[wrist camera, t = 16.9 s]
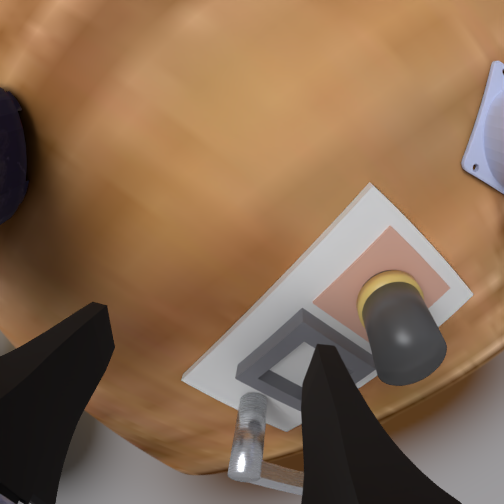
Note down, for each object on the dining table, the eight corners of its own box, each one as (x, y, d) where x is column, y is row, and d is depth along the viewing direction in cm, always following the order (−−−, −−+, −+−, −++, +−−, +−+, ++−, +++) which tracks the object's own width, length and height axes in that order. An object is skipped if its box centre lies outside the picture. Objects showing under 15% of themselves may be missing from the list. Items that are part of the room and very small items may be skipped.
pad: (390, 224, 18) (391, 226, 17) (449, 286, 19) (450, 288, 19) (312, 301, 21) (312, 303, 20) (378, 347, 22) (379, 349, 22)
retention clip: (234, 402, 26) (221, 476, 19) (249, 389, 25) (238, 468, 18) (342, 442, 28) (346, 503, 22) (359, 432, 27) (366, 496, 20)
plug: (426, 272, 19) (463, 331, 13) (402, 324, 21) (426, 388, 15) (367, 261, 19) (393, 325, 13) (346, 318, 21) (360, 386, 15)
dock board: (369, 181, 17) (380, 193, 15) (469, 288, 20) (482, 306, 18) (183, 373, 26) (176, 393, 24) (286, 425, 29) (286, 444, 27)
